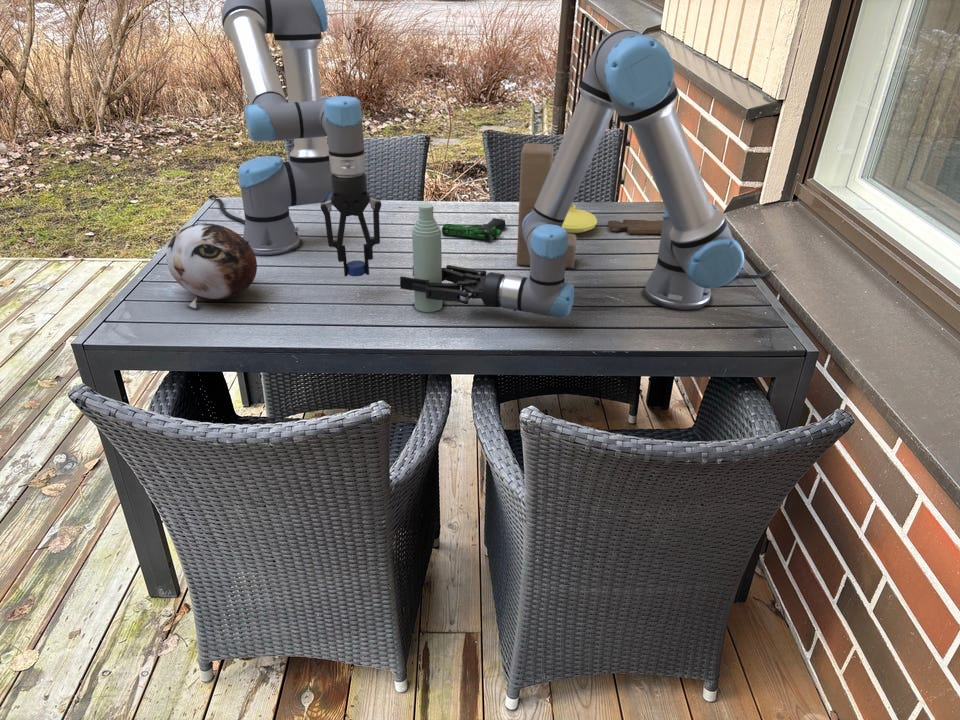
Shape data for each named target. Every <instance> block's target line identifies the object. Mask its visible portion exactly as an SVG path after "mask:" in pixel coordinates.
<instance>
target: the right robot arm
mask: <svg viewBox="0 0 960 720" xmlns="http://www.w3.org/2000/svg"><path fill="white" fill-rule="evenodd" d="M674 79H675V65H674V62H673V59H672V56H671V55H670V52H669V50H668V49H667V48H666V47H665V46H664V44H662V43H661V42H660V41H658V40H657V38H654V37H651V36H650V35H644V33H643V34H642V33H640V32H639V31H637V30H635V29H630V28H622V29H617V30H614V31H612V32H610V33H608V34H607V35H606V36H605V37H603V38H602V39H601V40H600V41H599V42H598V44H597V45H596V46H595V48H594V51H593V53H592V55H591V58H590V59H589V61H588V65H587V66H586V69H585V73H584V75H583V77H582V79H581V82H580V84H579V87H578V90H579V92H580V97H579V100H578V102H577V104H576V106H575V110H574V111H573V113H572V116H571V118H570V121H569V123H568V125H567V128H566V130H565V133H564V135H563V137H562V139H561V142H560V143H559V147H558V149H557V151H556V154H555V156H554V157H553V163H552V165H551V168H550V170H549V172H548V175H547V177H546V179H545V182H544V184H543V186H542V189H541V191H540V193H539V196H538V198H537V201H536V203H535V205H534V208H533V210H532V212H531V213H529V214H528V215H527V216H526V217H525V218H524V220H523V223H522V235H523V237H524V240H525V242H526V245H527V248H528V251H529V254H530V266H529V277H526V276H522V275H521V276H520V275H513V274H507V275H505V274H504V273H499V272H492V271H490V272H488V273H487V270H484V269H483V270H482V269H481V270H480V269H472V268H467V267H463V266H457V265H451V264H447V265H446V266H445V267H442V283H429V280H422V279H415V278H414V272H413V271H412V277H408V276H400V277H399V284H400V285H399V286H400V289H402V290H406V291H407V290H408V291H413V292H414V291H419V292H425V293H426V298H427V299H435V300H442V302H451V303H459V304H461V305H468V304H469V302H470V301H469V300H471V299H472V300H478V299H479V300H481V302H482V304H483V305H484V306H486V307H492V308H497V309H498V308H500V307H501V308H502V309H506V310H511V311H513V312H517V311H518V312H523V313H528V314H529V313H530V314H534V315H541V316H546V317H554V318H566V317H568V316H569V315H570V313H571V312H572V308H573V305H574V299H575V287H574V285H573V284H572V283H568V282H566V277H565V276H566V275H565V274H566V268H565V266H566V255H567V249H568V243H567V238H568V234H567V231H566V230H565V229H564V228H561V227H562V225H563V222H564V220H565V218H566V215H567V213H568V211H569V209H570V207H571V204H572V205H573V202H574V200H575V198H576V195H577V193H578V191H579V189H580V187H581V185H582V182H583V180H584V178H585V176H586V174H587V172H588V169H589V167H590V165H591V163H592V161H593V158H594V156H595V154H596V152H597V150H598V147H599V145H600V143H601V141H602V138H603V137H604V134H605V133H606V130H607V128H608V126H609V123H610V121H611V119H612V117H613V115H614V112H616V114H617V117H618V119H619V122H620V123H621V124H623V125H627V126H630V127H631V129H632V131H633V133H634V136H635V139H636V141H637V144H638V146H639V149H640V150H641V153H642V155H643V158H644V160H645V162H646V164H647V167H648V169H649V171H650V175H651V177H652V179H653V181H654V184H655V186H656V188H657V191H658V194H659V196H660V198H661V200H662V203H663V206H664V208H665V209H664V214H663V216H662V220H663V225H662V232H661V234H660V240H659V245H658V252H657V261H656V265H655V266H654V268H653V270H652V272H651V274H650V275H649V278H648V279H647V282H646V284H645V287H644V295H645V297H646V298H647V300H649V301H650V302H652V303H654V304H655V305H658V306H659V307H663V308H667V309H672V310H678V311H693V310H698V309H701V308H705V307H706V306H707V305H708V304H709V303H710V299H711V295H712V293H711V289H718V288H721V287H724V286H725V285H727V284H729V283H730V282H732V281H733V280H735V278H763V277H766V276H767V275H768V274H769V273H768V272H767V271H766V270H764V271H763V272H759V273H756V274H757V275H749V273H750V272H741V270H742V268H743V267H744V264H745V263H744V262H745V253H744V250H743V247H742V246H741V244H740V243H739V241H737V240H735V238H734V237H733V234H732V232H731V229H730V227H729V224H728V221H727V217H726V216H725V214H724V212H723V211H722V210H720V209H719V208H718V206H717V205H716V204H713V203H712V201H711V199H710V196H709V193H708V190H707V188H706V186H705V183H704V180H703V178H702V175H701V172H700V170H699V167H698V165H697V162H696V160H695V156H694V154H693V151H692V149H691V146H690V144H689V141H688V138H687V136H686V133H685V130H684V127H683V125H682V123H681V120H680V118H679V117H680V116H679V115H678V112H677V109H676V107H675V104H676V101H677V100H678V98H679V96H680V95H679V91H678V88H677V84H676V82H675V80H674ZM444 281H448V282H444Z"/></svg>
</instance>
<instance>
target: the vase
mask: <svg viewBox="0 0 960 720" xmlns="http://www.w3.org/2000/svg"><path fill="white" fill-rule="evenodd" d="M597 223H598V219H597V217H596V215H595V214H593V213H591V212H589V211H587V210H584V209H578V208H576V205H575V204H573V203H572V204H571V207H570V209H569V211H568V213H567V215H566V218H565V220H564V222H563V225H562V227H561V228H564V229H565V230H566V231H567V233H569V234H580V233H584V232H585V233H586V232H587V231H591V230H592V229H594V228H596V226H597Z"/></svg>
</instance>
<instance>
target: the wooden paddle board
mask: <svg viewBox="0 0 960 720" xmlns="http://www.w3.org/2000/svg"><path fill="white" fill-rule="evenodd" d="M607 224H608V229H609V231H610V232H613V233H615V232H616V233H617V232H623V231H627V234H629V235H641V234H655V235H656V234H657V235H659V234H660V235H661V232H662V225H663V219H660V220H657V219H656V220H649V219H648V220H647V219H623V220H622V222H621V221H619V220H615V219H614V220H608V221H607Z"/></svg>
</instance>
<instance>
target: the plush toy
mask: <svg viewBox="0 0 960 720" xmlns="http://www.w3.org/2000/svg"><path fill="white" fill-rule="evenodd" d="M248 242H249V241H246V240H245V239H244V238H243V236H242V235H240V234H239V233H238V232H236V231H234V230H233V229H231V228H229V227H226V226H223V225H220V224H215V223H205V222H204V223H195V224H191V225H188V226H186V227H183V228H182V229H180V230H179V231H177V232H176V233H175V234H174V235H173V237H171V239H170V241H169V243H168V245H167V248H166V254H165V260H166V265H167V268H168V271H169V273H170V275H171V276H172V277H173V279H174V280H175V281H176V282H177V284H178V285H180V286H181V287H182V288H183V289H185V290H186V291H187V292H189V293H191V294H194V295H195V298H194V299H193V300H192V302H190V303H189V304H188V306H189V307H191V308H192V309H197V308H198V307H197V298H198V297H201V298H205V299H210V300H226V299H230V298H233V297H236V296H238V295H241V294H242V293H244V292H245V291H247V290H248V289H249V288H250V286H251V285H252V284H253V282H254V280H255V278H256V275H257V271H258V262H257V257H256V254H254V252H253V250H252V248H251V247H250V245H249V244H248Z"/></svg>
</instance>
